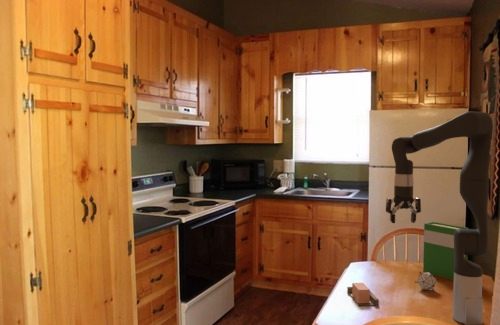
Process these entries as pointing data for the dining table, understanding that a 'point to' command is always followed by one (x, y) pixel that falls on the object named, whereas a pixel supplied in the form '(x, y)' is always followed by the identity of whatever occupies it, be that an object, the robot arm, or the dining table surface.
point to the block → (361, 292)
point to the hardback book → (439, 249)
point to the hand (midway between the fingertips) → (403, 222)
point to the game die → (426, 281)
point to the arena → (373, 302)
